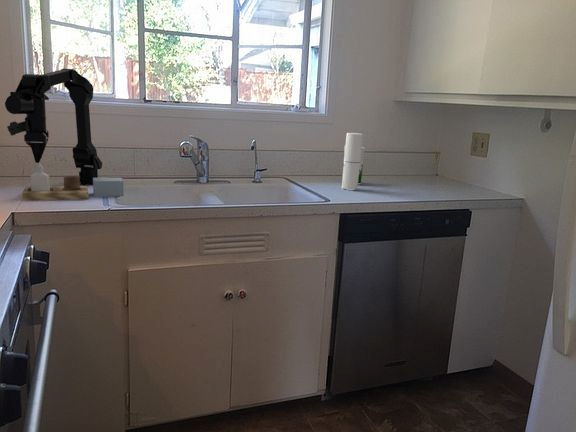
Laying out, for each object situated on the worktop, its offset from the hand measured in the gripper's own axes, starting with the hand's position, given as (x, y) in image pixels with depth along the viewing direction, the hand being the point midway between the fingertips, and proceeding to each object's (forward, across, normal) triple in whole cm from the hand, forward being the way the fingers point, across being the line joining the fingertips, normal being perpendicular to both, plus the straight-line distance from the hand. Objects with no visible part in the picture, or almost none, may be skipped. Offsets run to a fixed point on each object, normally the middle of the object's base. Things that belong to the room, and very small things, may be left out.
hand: (38, 160), depth 166 cm
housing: (+12, -2, +22) cm, 25 cm away
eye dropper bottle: (+13, 0, 0) cm, 13 cm away
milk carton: (+12, -20, +134) cm, 136 cm away
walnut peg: (+12, 0, +10) cm, 16 cm away
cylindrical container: (+12, -6, +125) cm, 126 cm away
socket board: (+12, 0, +5) cm, 13 cm away
